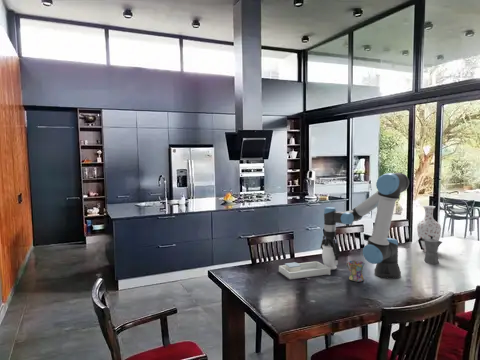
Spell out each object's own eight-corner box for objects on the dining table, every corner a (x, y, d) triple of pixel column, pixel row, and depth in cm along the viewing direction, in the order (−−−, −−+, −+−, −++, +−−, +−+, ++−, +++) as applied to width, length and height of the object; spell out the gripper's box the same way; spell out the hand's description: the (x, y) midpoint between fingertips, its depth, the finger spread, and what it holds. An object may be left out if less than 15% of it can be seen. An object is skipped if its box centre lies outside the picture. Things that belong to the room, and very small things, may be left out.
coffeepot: (444, 262, 239) (444, 236, 238) (439, 265, 233) (440, 238, 232) (420, 257, 250) (420, 233, 249) (415, 260, 244) (415, 235, 243)
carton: (300, 275, 215) (300, 266, 215) (290, 276, 213) (290, 267, 213) (295, 271, 222) (295, 263, 221) (285, 273, 220) (285, 264, 219)
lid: (301, 266, 215) (301, 265, 215) (289, 267, 212) (289, 266, 212) (295, 263, 222) (295, 262, 222) (284, 264, 219) (284, 263, 219)
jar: (338, 270, 225) (338, 247, 224) (322, 269, 227) (322, 247, 226) (337, 265, 235) (337, 244, 235) (322, 265, 237) (321, 243, 237)
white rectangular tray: (330, 275, 216) (330, 268, 216) (289, 280, 208) (289, 273, 208) (317, 267, 232) (317, 261, 231) (278, 272, 223) (278, 265, 223)
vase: (441, 250, 270) (441, 205, 269) (440, 255, 257) (440, 208, 255) (418, 247, 279) (418, 204, 277) (416, 252, 265) (416, 207, 263)
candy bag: (368, 280, 205) (368, 263, 204) (356, 283, 200) (356, 265, 200) (352, 275, 215) (352, 258, 215) (341, 278, 211) (341, 260, 210)
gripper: (315, 227, 241) (315, 257, 242) (335, 234, 217) (335, 268, 218) (324, 226, 243) (325, 256, 244) (345, 233, 219) (346, 266, 220)
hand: (330, 262), depth 231 cm, fingers open, 13 cm apart
